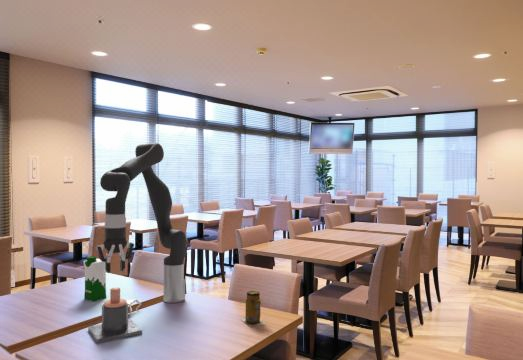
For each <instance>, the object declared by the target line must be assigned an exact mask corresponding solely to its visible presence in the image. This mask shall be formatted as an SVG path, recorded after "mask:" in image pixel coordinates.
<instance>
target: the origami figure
mask: <svg viewBox="0 0 523 360" xmlns="http://www.w3.org/2000/svg"><path fill="white" fill-rule="evenodd" d="M126 302H127V303H128V309H129V312H128V315H129V316H130V317H131V316H132V312H133V308H132V306H131V305H132V304H134V303H135V302H136V303H137V304H138V305H137V307H136V308H135V310H136V311H137V312H138V311H139V309H138V308H139V307H140V306H141V305H142V302H140V301H139V300H138V299H129V300H128V299H127V300H126Z"/></svg>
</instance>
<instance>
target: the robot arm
mask: <svg viewBox="0 0 523 360" xmlns="http://www.w3.org/2000/svg"><path fill="white" fill-rule="evenodd" d="M134 153H135V157H134V158H131V159H129V160H127V161H125V162H124V163H123V164H122V165H120V166H119V167H116V168H113V169H111V170H108V171H106V172H105V173H104V174H103V175H101V178H100V182H99V184H100V187H101V188H102V190H104V191H106V192H116V194H115V196H114V197H109V198H106V200H105V205H104V206H105V215H104V241H103V243H102V244H100V245H96V246H95V249H96V252H97V254H98V259H100V260H101V261H102V262H105V270H106V273H108V274H109V273H111V258H112V257H113V254H118V255H119V258H120V260H119V271H121V272H123V271H124V270H126V261H127V260H129V259H130V258H131V256H132V253H133V251H134V250H133V249H134V246H135V244H134V243H133V242H128V241H127V239H126V237H127V227H126V226H127V218H126V202H127V198H128V194H129V190H130V186H131V182H133V180H134V179H135V178H137V177H138V176H139V175H141V174H142V176H143V180H144V182H145V186H146V189H147V193H148V196H149V200H150V203H151V207H152V209H153V213H154V217H155V220H156V225H157V230H158V236H159V241H160V244H161V245H162V247H163V248H165V249H168V250H170V251H169V252H170V253H169V255H167V256H165V257H164V258H163V297H162V298H163V302H165V303H169V304H171V303H175V304H176V303H180V302H182V301H185V300H186V279H185V278H184V275H185V274H184V271H185V269H184V264H185V263H184V262H185V258H186V251H187V236H186V234H185V232H184V231H183V230H180V229H174V228H173V226H172V222H171V217H170V216H171V212H172V208H173V199H172V196H171V193H170V189H169V187H168V186H167V185H166V183H164V181H163V180H162V179H160V177H158V175H157V174H156V173H155V171H154V169H153V167H152V166H155V165H157V164H159V163H161V162H162V161H163V160H164V156H165V152H164V148H163V146H162V145H161V144H160V143H158V142H149V143H144V144H138V145H137V146H136V147H135V150H134ZM125 247H126V248H127V249H126V253H125V252H124V249H125ZM104 248H105V249H106V254H105V255H104V252H103V251H104Z"/></svg>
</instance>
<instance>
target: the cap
mask: <svg viewBox="0 0 523 360" xmlns="http://www.w3.org/2000/svg"><path fill="white" fill-rule="evenodd" d="M109 291H110V292H109V295H110V296H109V297H110V299H107V300H106V301H104V302H103V304H104V307H106V308H119V307H123V306H125V305H126V301H127V300H126V299H123V298H121V288H120V287H111V288H110V290H109Z"/></svg>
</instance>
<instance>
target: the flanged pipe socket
mask: <svg viewBox="0 0 523 360" xmlns="http://www.w3.org/2000/svg"><path fill="white" fill-rule="evenodd" d="M87 329H88V332H89V334H90V335H91V337H92V338H93V340H94V341H95V343H96V344H101V343H106V342H112V341H116V340H120V339H125V338H130V337H134V336H139V335H143V329H141V327H139V325H137V323H136V322H134V321H133V320H132V319H131V318H129V305H128V303H127V302H126V305H125V306H123V307H119V308H106V307H104V303H103V304H102V305H101V324H96V325H91V326H88V327H87Z"/></svg>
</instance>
